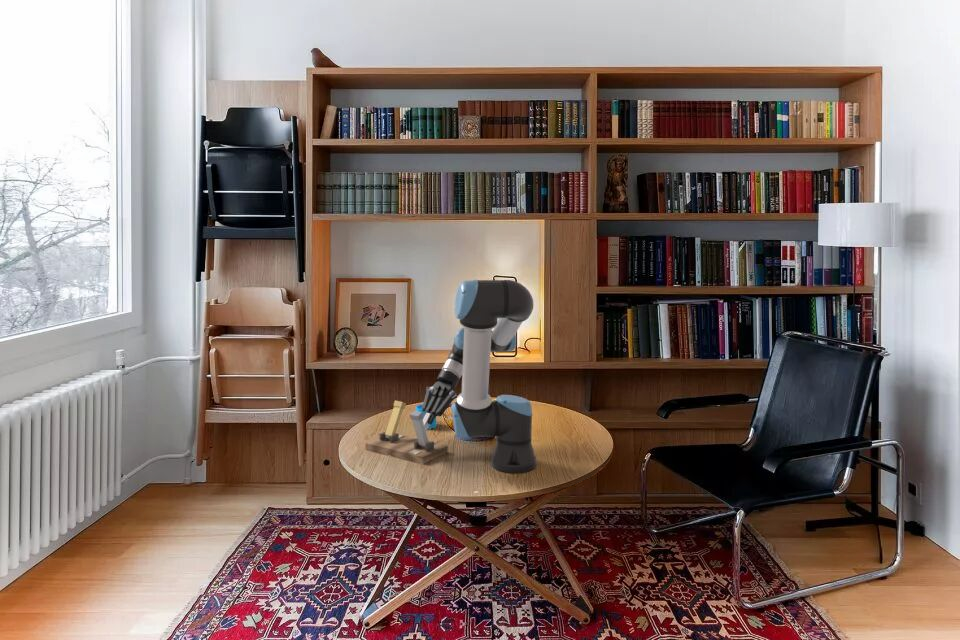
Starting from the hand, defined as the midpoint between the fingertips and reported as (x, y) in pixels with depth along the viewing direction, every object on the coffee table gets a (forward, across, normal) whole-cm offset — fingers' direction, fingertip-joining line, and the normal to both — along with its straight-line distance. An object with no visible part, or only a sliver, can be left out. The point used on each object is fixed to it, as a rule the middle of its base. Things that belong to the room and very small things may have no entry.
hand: (422, 430), depth 227 cm
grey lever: (+4, -1, -3) cm, 5 cm away
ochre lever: (+4, +15, -3) cm, 16 cm away
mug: (-13, +20, -27) cm, 36 cm away
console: (+7, +7, -6) cm, 11 cm away
